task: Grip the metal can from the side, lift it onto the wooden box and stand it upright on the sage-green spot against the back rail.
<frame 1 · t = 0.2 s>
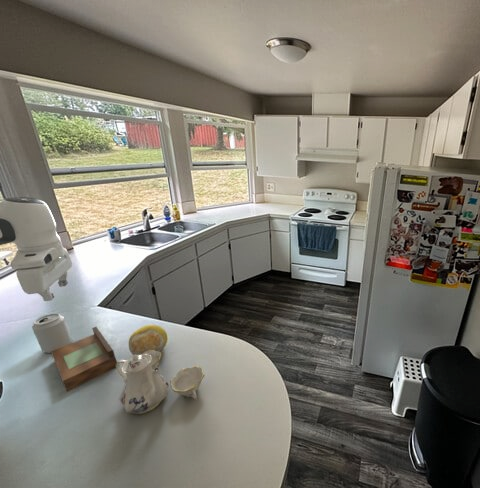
hand: (57, 292, 79), 23 cm above the table, tool pointing down, fingers open, 8 cm apart
fruit: (151, 353, 87), on the table
can: (58, 347, 88), on the table
wooden box: (86, 363, 82), on the table
chinaware: (157, 391, 73), on the table
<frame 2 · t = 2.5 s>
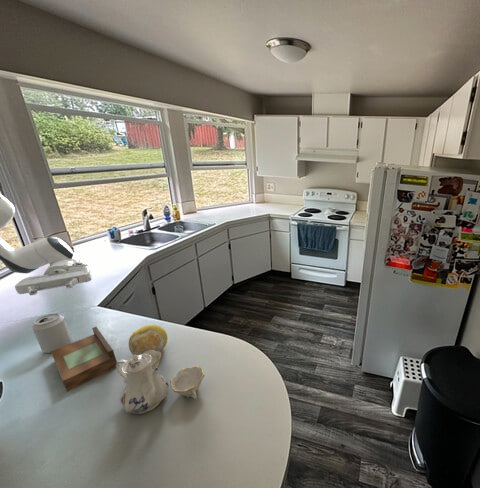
hand: (50, 289, 91), 17 cm above the table, tool horizontal, fingers open, 8 cm apart
nothing on the table moved.
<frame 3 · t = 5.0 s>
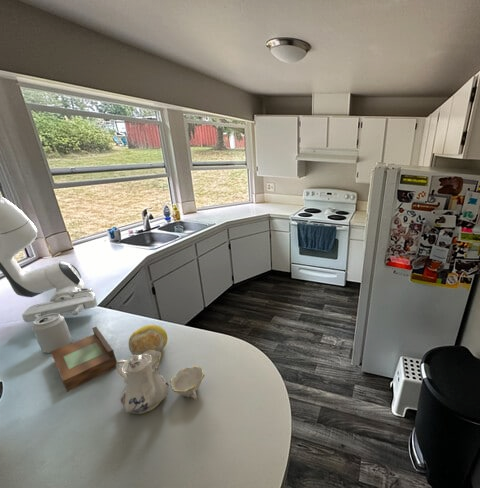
hand: (58, 317, 93), 7 cm above the table, tool horizontal, fingers open, 8 cm apart
nothing on the table moved.
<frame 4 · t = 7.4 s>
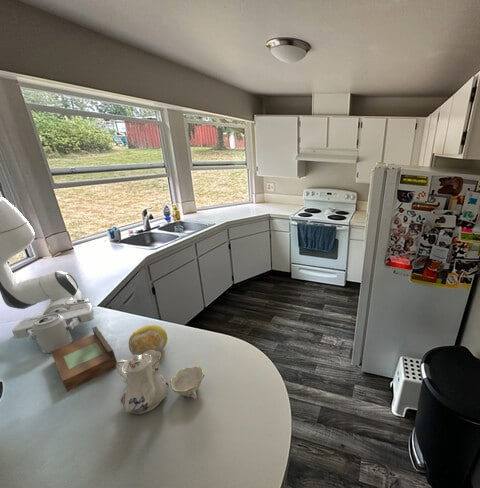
hand: (51, 332, 85), 7 cm above the table, tool horizontal, fingers closed on can, 7 cm apart
can: (58, 347, 88), on the table, touching gripper
everything else where it was.
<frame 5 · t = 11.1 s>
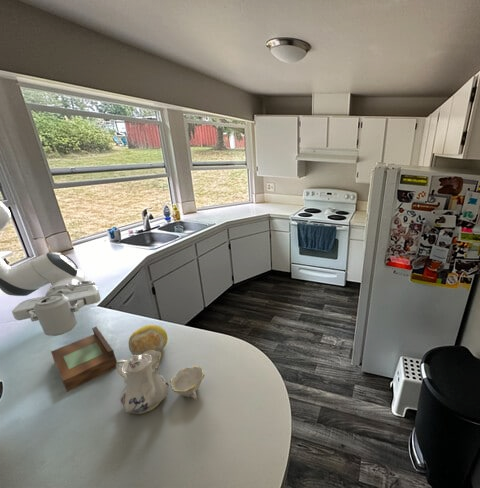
hand: (55, 314, 78), 17 cm above the table, tool horizontal, fingers closed on can, 7 cm apart
can: (62, 330, 81), point 10 cm above the table, touching gripper
everything else where it was.
when the fingers open (11 cm above the table, at t = 14.8 s): can stays where it is, resting on wooden box.
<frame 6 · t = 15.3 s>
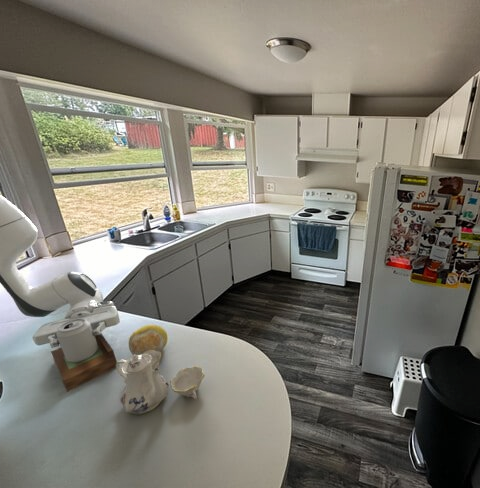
hand: (76, 339, 77), 11 cm above the table, tool horizontal, fingers open, 8 cm apart
can: (83, 355, 80), point 4 cm above the table, touching wooden box
everything else where it was.
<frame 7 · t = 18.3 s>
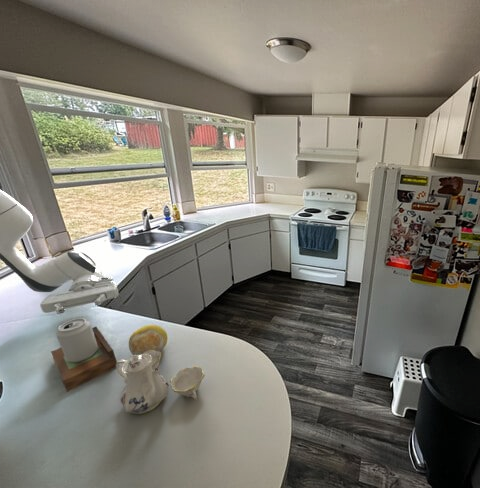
hand: (79, 307, 85), 15 cm above the table, tool horizontal, fingers open, 8 cm apart
nothing on the table moved.
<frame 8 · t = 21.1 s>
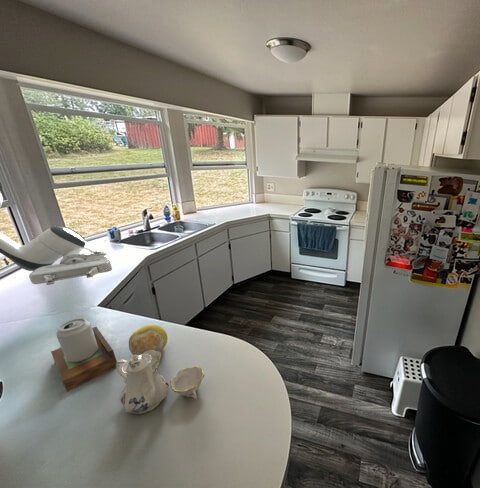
hand: (69, 279, 81), 26 cm above the table, tool horizontal, fingers open, 8 cm apart
nothing on the table moved.
at the end: can inside the target area (0.4 cm from its centre), point 3.9 cm above the table; can tilted 0°; the gripper is holding nothing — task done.
